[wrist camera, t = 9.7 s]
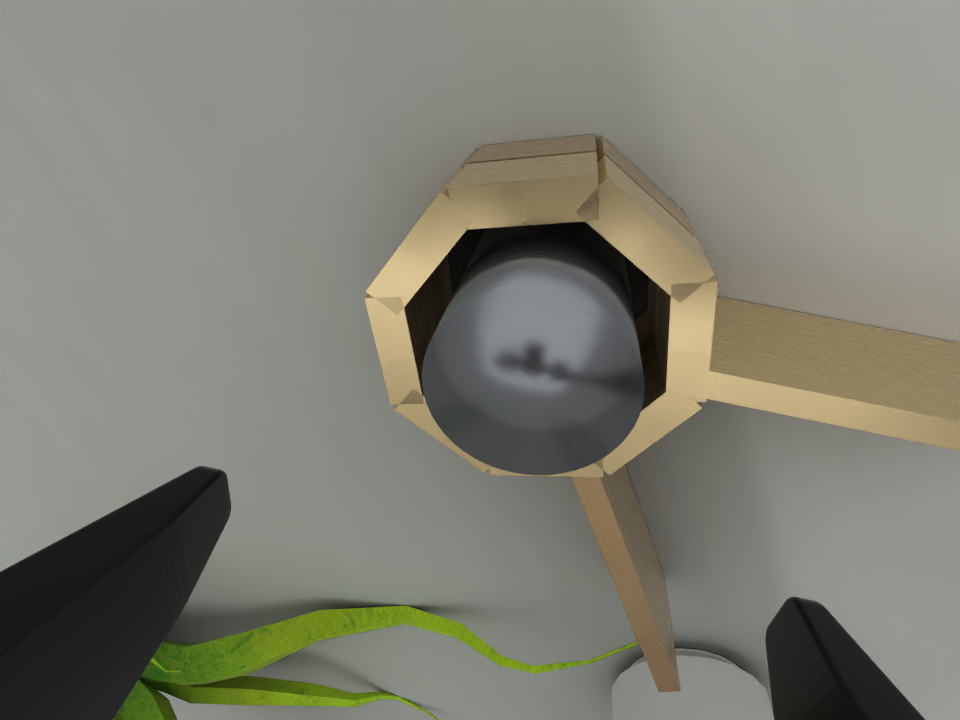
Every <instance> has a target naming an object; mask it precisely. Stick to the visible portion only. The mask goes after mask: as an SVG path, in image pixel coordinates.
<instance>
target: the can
mask: <svg viewBox="0 0 960 720" xmlns="http://www.w3.org/2000/svg"><path fill="white" fill-rule="evenodd" d="M675 652H676V659H677V666H678V673H679V680H680V687H681V691H675V692H659V691H658V689H657V686H656V684H655V681H654V679H653V676H652V674H651V672H650V669H649V667H648V664H647V662H646V659H645V657H644V656H643V657H642V658H640V659H638V660H637V661H635V662H634V663H633V664H632V665H631V667H630V668H629V669H627V670H626V671H624V672H623V673H621V674H620V675H619V677H618V678H617V680H616V681H615V683H614V684H613V685H612V698H611V700H612V720H774V715H773V711H772V707H771V704H770V700H769V697H768V694H767V691H766V689H765V688H764V686H763V685H762V684H761V683H760V682H759V681H758V680H757V679H756V678H755V677H754V676H753V675H751V674H749V673H747V672H745V671H744V670H742V669H740V668H739V667H738V666H737V665H736V664H735V663H733V662H731V661H729V660H727V659H725V658H724V657H722V656H720V655H717V654H713V653H710V652H706V651H703V650H695V649H684V648H678V649H675Z"/></svg>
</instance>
